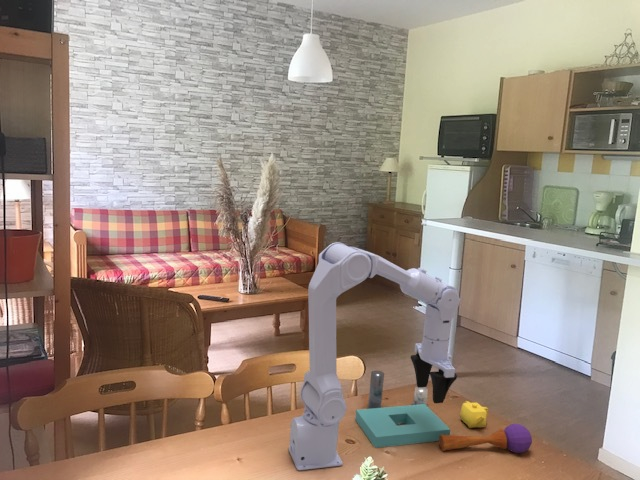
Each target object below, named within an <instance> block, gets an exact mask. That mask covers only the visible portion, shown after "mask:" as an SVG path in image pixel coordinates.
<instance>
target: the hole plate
mask: <svg viewBox="0 0 640 480" xmlns="http://www.w3.org/2000/svg"><path fill="white" fill-rule="evenodd" d="M354 420H355V422H356V423H357V424H358V426H359V427H360V429H361V430H362V432H363V433H364V434H365V436H366V437H367V439H368V440H369V442H370V443H371V444H372V446H373V448H375V449H376V448H387V447H395V446H403V445H404V446H405V445H414V444H422V443H430V442H431V443H432V442H439V436H440V435H450V433H451V428H449V427H448V425H447V424H446V423H445V422H443V421H442V419H441V418H440V417H439V416H437V414H436V413H435V412H433V411H432V410H431V408H430V407H428V405H427V404H426V405H425V404H418V405H413V404H409V405H408V404H407V405H398V406H397V405H396V406H387V407H381V408H372V409H369V408H362V409H356V410H355V419H354ZM400 424H401V425H400Z"/></svg>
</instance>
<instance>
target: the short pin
mask: <svg viewBox="0 0 640 480" xmlns="http://www.w3.org/2000/svg"><path fill="white" fill-rule="evenodd" d="M428 392H429V389H428V388H427V387H419V388H418V387H417V386H415V387H414V396H413V402H412V403H413V404H412V405H418V404H425V405H426V406H427V403H428Z"/></svg>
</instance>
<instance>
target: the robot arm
mask: <svg viewBox="0 0 640 480" xmlns="http://www.w3.org/2000/svg"><path fill="white" fill-rule="evenodd" d="M376 275H378V276H380V277H383V278H385V279H387V280H389V281H391V282H394V283H396V284H398V285H399V288H400V290H401V292H402V293H403V294H404V295H407V296H409V297H411V298H413V299H414V300H418V301H419V302H422V303H424V304H425V314H424V324H423V325H424V326H423V333H422V341H421V342H420V343H414V352H415V353H416V354H412V355H410V360H411V362H412V365H413V368H414V373H415V379H416V380H415V382H416V387H418V388H419V387H426V388H427V387H428V384H429V379H430V380H431V384H432V402H433V403H434V404H443V403H444V401H445V398H446V396H447V394H448V391H449V389H450V388H451V387H452V385H453V383H454V382H455V381H456V380H457V379H458V375H457V373H455V372H456V368H455V367H454V366H453V365H452V362H451V361H450V360H452V355H451V354H450V353H449V349H450V348H449V345H450V338H451V330H452V322H453V318H455V312H456V310H457V309H458V307H459V306H460V303H461V300H462V299H461V298H460V295H459V293H458V291H457V288H455V287H454V286H452V285H449V284H447V283H445V282H443V281H442V280H443V279H442V278H439V277H437V276H435V277H433V276H431V275H429V274H427V270H425V269H424V268H421V267H418V268H413V267H412V268H409V269H407V270H406V269H404V268H402V267H400V266H398V265H397V264H394V263H392V262H391V261H389V260H387V259H385V257H384V258H383V257H382V256H380V255H378V254H376V253H373V252H370V251H367V250H364V249H362V248H358V247H355V246H348V245H347V244H345V243H343V242H339V241H338V242H333V243H330V244H329V245H328V246H326V247H325V249H323V250H322V251H320V253H319V254H318V264H317V265H316V268H315V270H314V272H313V274H312V277H311V279H310V282H309V283H308V289H307V291H308V293H307V295H308V296H307V297H308V301H307V302H308V346H309V347H308V350H309V351H308V356H309V358H308V359H309V361H308V363H309V370H308V371H307V372H305V373H303V374H304V375H303V376H304V377H303V384H302V386H301V388H300V391H299V393H300V394H299V397H300V399H301V401H302V402H303V404H304V410H303V414H301V415H300V416H296V417H293V418H292V419H291V421H290V430H289V431H290V433H289V447H288V451H289V453H290V456H291V458H292V461H293V464H294V466H295V468H296V470H297V471H305V470H313V469H322V468H331V467H340V466H342V465H343V463H344V461H342V459H341V457H340V455H339V454H338V453H339V452H337V449H338V439H339V438H338V437H339V428H340V427H339V425H340V422H341V420H342V419H343V418H344V417H345V415H346V412H347V408H348V407H347V402H346V400H345V399H344V396H343V387H342V385H341V381H340V379H339V376H338V373H337V298H338V297H339V296H340V295H341V294H343V293H344V292H346V291H348V290H350V289H353V288H354V287H355V286H357V285H359V284H360V283H363V281H365V280H367V278H370V279H372V278H374V277H375V276H376ZM433 366H434V367H435V368H437V369H438V371H431V370H432V369H433ZM343 466H344V465H343Z"/></svg>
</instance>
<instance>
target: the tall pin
mask: <svg viewBox="0 0 640 480" xmlns="http://www.w3.org/2000/svg"><path fill="white" fill-rule="evenodd" d="M384 378H385V373H384V372H383V371H382V370H377V369H376V370H372V371H371V372H370V383H369V390H368V391H369V392H368V402H367V403H368V405H367V407H368V408H367V409H372V408H382V400H383V391H384Z"/></svg>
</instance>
